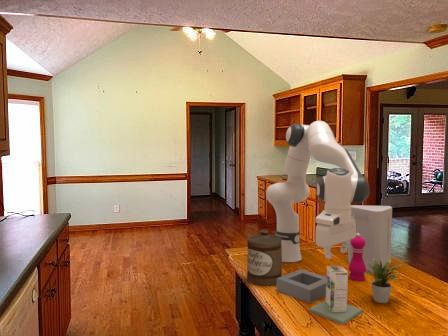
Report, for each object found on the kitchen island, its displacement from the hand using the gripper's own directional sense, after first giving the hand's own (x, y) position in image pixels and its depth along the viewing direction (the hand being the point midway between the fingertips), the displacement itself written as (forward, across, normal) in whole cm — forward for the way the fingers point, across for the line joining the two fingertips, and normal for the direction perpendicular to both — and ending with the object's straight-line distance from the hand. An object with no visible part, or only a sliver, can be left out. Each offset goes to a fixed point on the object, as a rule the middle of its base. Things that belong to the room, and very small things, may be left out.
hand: (336, 255), depth 130 cm
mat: (+20, 0, 0) cm, 20 cm away
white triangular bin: (+21, -54, -14) cm, 59 cm away
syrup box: (+19, 0, 0) cm, 19 cm away
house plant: (+20, -20, +7) cm, 30 cm away
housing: (+20, -7, -18) cm, 28 cm away
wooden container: (+21, -4, -37) cm, 43 cm away
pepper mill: (+21, -35, -11) cm, 42 cm away
